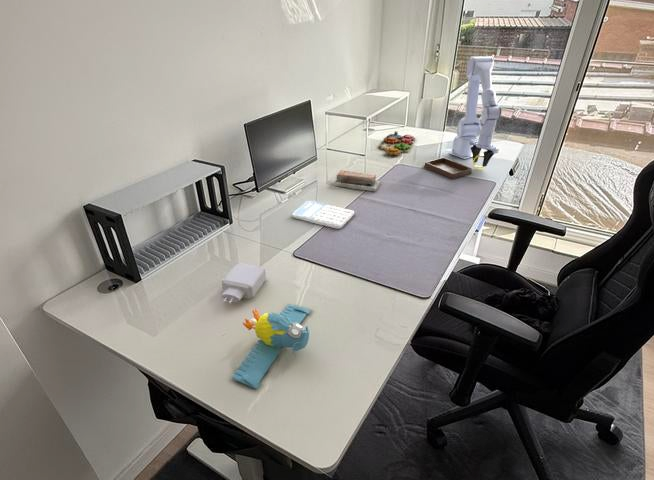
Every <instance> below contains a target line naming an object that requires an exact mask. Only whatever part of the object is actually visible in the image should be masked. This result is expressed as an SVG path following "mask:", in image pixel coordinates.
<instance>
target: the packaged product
mask: <svg viewBox="0 0 654 480" xmlns="http://www.w3.org/2000/svg"><path fill="white" fill-rule="evenodd" d="M335 178H336V179H335V181H334V186H335V187H341V188H347V189H353V190H363V191H367V192H373V193H375V192H376V191H377V189H378V187H380V186H379V185H381V180H377V179H376V178H377V175H375V174H371V173H370V174H369V173H364V172H363V173H362V172H358V171H357V172H356V171H350V170H340V171H339V172H338V173H337V174H336V177H335Z"/></svg>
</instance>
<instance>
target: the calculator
mask: <svg viewBox="0 0 654 480" xmlns="http://www.w3.org/2000/svg"><path fill="white" fill-rule="evenodd" d="M291 216H292V218H294V219H297V220H300V221H304V222H308V223H312V224H317V225H320V226H324V227H327V228H332V229H337V230H339V229H342V228H343V227H344V226H345V225H346V224H347V223H348V222H349V221H350V220H351V219H352V218H353V217H354V216H355V211H354V210H353V209H348V208H344V207H339V206H335V205H331V204H327V203H322V202H318V201H314V200H307V201H305V203H303V204H302V205H301V206H299V207H298V208H297V209H296V210H294V211H293V212H292V215H291Z"/></svg>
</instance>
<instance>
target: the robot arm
mask: <svg viewBox="0 0 654 480" xmlns="http://www.w3.org/2000/svg"><path fill="white" fill-rule="evenodd" d="M494 65H495V60H494V57H493V56H470V58H468V60H467V63H466V71H465V72H466V73H465V74H466V75H465V76H466V78H467V79H468V82H467V90H466V91H467V93H466V101H465V102H466V104H465V113H464V116H463V117H462V118H461V119H460V120H458V124H457V127H456V136H455V137H454V139H453V142H452V146H451V152H449V154H450V155H452V156H455V157H458V158H460V159H463V160H466V159H467V160H468V159H470V158H472V161H473V160H474V158H475V157H476V156H477V155H479V154H481V151H482V150H485V151H483V154H484V157H483V159H482V165H481V166H483V168H484V167H487V166H488V164H489V162H490V160H491V159H492V158H493V156H494V155H495V154H498V153H499V151H500V148H498V147H497V146H495V145H493V144H492V142H493V138H494V133H495V129H496V127H497V126H496V125H497V122H498V120H500V119H501V116H502V106H501V105H500V104H499V103H498V100H497V94H496V90H495V89H493V86H492V85H493V84H492V71H493V69H494ZM480 85H481V88H482V93H481V95H480V98H481V103H482V111H481V113H480V114H481V115H480V116H481V119H480V118H479V117H477V111H478V103H479V102H478V101H479V93H480V92H479V91H480ZM477 137H478V140H476V139H477ZM478 161H479V157H477V158H476V159H475V161H474V164H475V163H478Z"/></svg>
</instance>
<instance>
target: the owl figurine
mask: <svg viewBox="0 0 654 480" xmlns="http://www.w3.org/2000/svg"><path fill="white" fill-rule="evenodd" d="M310 313H311V311H310V310H309V309H307V308H305V307H303V306H298V305H295V304H294V305H293V304H291V303H290V304H287V306H285V307H284V309H282V311H281V312H280V313H277V312H273V311H271V312H265V313H263V314H262V315H261V316H260V314H259V311H258V309H256V308H254V309H252V314H253V318H250V319H248V318H244V321H245V322H242V325H243V326H244V327H245V328H246V329H248V331H250V330H252V329H253V330H254V331H255V334H256V337H257V338H258V340H257V343H255V344H254V347H252V348H251V351H249V352H248V355H246V356H245V357H244V359H243V360H242V361H241V364H239V365H238V369H236V370H235V371H234V373H235V374H232V379H233V380H234V381H237V382H239V383H241V384H244V385H246V386H248V387H250V388H253V389H255V390H257V389H258V388H259V387H260V385H261V383H260V382H261V381H262V379H263V378H264V377H265V374H266V373H267V372H268V370H269V369H270V367H271V366H272V365H273V363H274V362H275V360H276V359H277V357H278V356H279V354H280V353H281V352H282V349H283V348H290V349H291V348H292V349H291V350H292V353H295V352H296V353H297V352H299V351H300V350H303V349H305V348H306V347H307V345H308V343H309V339H310V330H309V325H308V324H306V326H305V327H304V326H303V325H301V324H302V322H303V320H304V319H305V318H306V317H307V316H308V315H310Z"/></svg>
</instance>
